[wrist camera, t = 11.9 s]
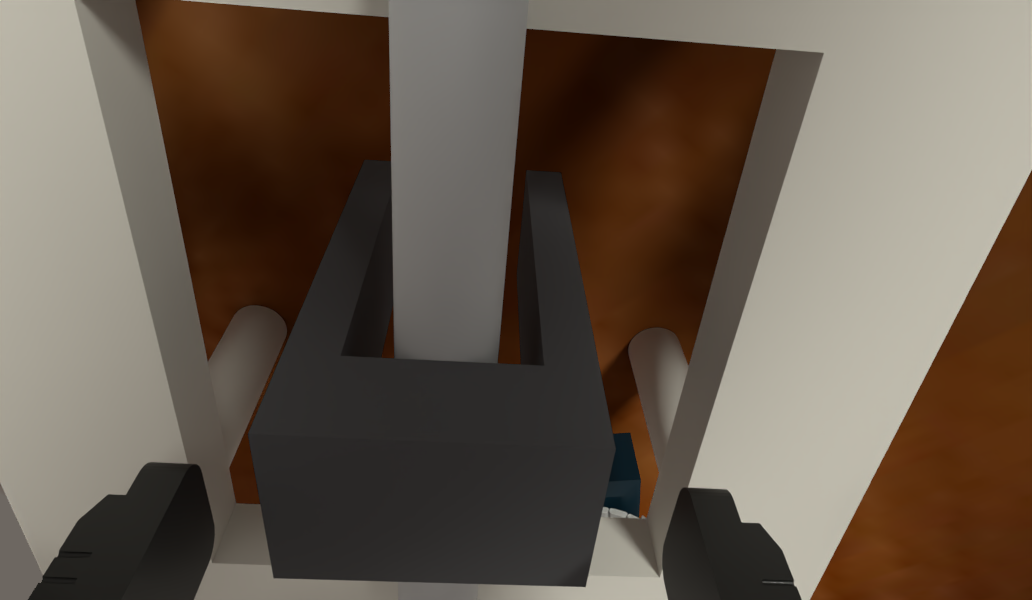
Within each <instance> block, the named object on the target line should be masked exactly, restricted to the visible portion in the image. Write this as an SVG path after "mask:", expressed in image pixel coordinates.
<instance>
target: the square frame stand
mask: <svg viewBox="0 0 1032 600" xmlns="http://www.w3.org/2000/svg"><path fill="white" fill-rule="evenodd" d="M185 1H197V2H209V3H222V4H234V5H246V6H258V7H270V8H283V9H295V10H307V11H319V12H331V13H343V14H356V15H368V16H380V17H389V56H390V118H391V181H392V243H393V305H394V358H395V359H416V360H437V361H458V362H478V363H498V353H499V341H500V330H501V318H502V306H503V295H504V283H505V271H506V260H507V248H508V237H509V225H510V213H511V202H512V190H513V179H514V167H515V155H516V144H517V132H518V120H519V109H520V97H521V86H522V74H523V62H524V51H525V39H526V29H539V30H551V31H563V32H575V33H587V34H600V35H612V36H624V37H636V38H648V39H661V40H673V41H685V42H697V43H709V44H722V45H734V46H746V47H758V48H770V49H776V52H775V56H774V60H773V63H772V67H771V70H770V74H769V78H768V81H767V85H766V89H765V92H764V96H763V99H762V103H761V107H760V110H759V114H758V117H757V121H756V125H755V128H754V132H753V136H752V139H751V143H750V146H749V150H748V154H747V157H746V161H745V165H744V168H743V172H742V175H741V179H740V183H739V186H738V190H737V193H736V197H735V201H734V204H733V208H732V212H731V215H730V219H729V222H728V226H727V230H726V233H725V237H724V241H723V244H722V248H721V251H720V255H719V259H718V262H717V266H716V270H715V273H714V277H713V280H712V284H711V288H710V291H709V295H708V298H707V302H706V306H705V309H704V313H703V317H702V320H701V324H700V327H699V331H698V335H697V338H696V342H695V346H694V349H693V353H692V356H691V360H690V364H689V367H688V364H687V361H686V359H685V356H684V353H683V350H682V348H681V345H680V342H679V340H678V338H677V336H676V335H675V334H674V333H673V332H672V331H670V330H668V329H665V328H649V329H646V330H643V331H641V332H640V333H638V334H637V335H636V336H635V337H634V338H633V339H632V340H631V342H630V344H629V347H628V354H629V358H630V362H631V366H632V370H633V374H634V378H635V381H636V385H637V389H638V393H639V397H640V401H641V405H642V408H643V412H644V416H645V420H646V424H647V428H648V432H649V436H650V439H651V443H652V447H653V451H654V455H655V459H656V463H657V466H658V470H659V476H658V479H657V483H656V487H655V490H654V494H653V498H652V501H651V505H650V508H649V512H648V516H647V519H639V518H612V517H601V519H600V524H599V528H598V533H597V538H596V542H595V547H594V551H593V556H592V561H591V565H590V570H589V574H588V579H587V584H586V587H563V586H528V585H492V584H456V583H421V582H385V581H350V580H314V579H279V578H273V573H272V567H271V561H270V556H269V550H268V544H267V539H266V533H265V528H264V522H263V516H262V511H261V505H260V504H239V503H236V500H235V495H234V490H233V485H232V480H231V475H230V470H229V467H230V465H231V463H232V460H233V458H234V456H235V453H236V451H237V449H238V446H239V444H240V442H241V439H242V437H243V435H244V433H245V430H246V428H247V426H248V423H249V421H250V419H251V416H252V414H253V412H254V409H255V407H256V405H257V403H258V400H259V398H260V396H261V393H262V391H263V389H264V386H265V384H266V382H267V380H268V377H269V375H270V373H271V370H272V368H273V366H274V363H275V361H276V359H277V356H278V354H279V352H280V350H281V347H282V345H283V343H284V340H285V338H286V335H287V327H286V324H285V322H284V320H283V319H282V317H281V316H280V315H279V314H278V313H276V312H275V311H273V310H272V309H269V308H267V307H264V306H258V305H251V306H246V307H243V308H241V309H240V310H238V311H237V312H236V314H235V315H234V317H233V318H232V320H231V322H230V324H229V326H228V327H227V329H226V331H225V333H224V334H223V336H222V338H221V340H220V341H219V343H218V345H217V347H216V349H215V350H214V352H213V354H212V356H211V357H210V359H209V361H207V356H206V351H205V346H204V341H203V336H202V331H201V326H200V321H199V316H198V311H197V306H196V301H195V296H194V291H193V286H192V281H191V276H190V271H189V266H188V261H187V256H186V251H185V246H184V241H183V236H182V231H181V226H180V221H179V216H178V211H177V206H176V201H175V196H174V191H173V186H172V181H171V176H170V171H169V166H168V161H167V156H166V151H165V146H164V141H163V136H162V131H161V126H160V121H159V116H158V111H157V107H156V102H155V97H154V92H153V87H152V82H151V77H150V72H149V67H148V62H147V57H146V52H145V47H144V42H143V37H142V32H141V27H140V22H139V17H138V12H137V7H136V2H135V0H0V484H1V486H2V488H3V490H4V492H5V494H6V497H7V499H8V501H9V503H10V505H11V507H12V510H13V512H14V514H15V516H16V518H17V520H18V523H19V525H20V527H21V529H22V531H23V533H24V536H25V538H26V540H27V542H28V544H29V546H30V549H31V551H32V553H33V555H34V557H35V559H36V561H37V564H38V566H39V568H40V570H41V572H42V575H44V573H45V572H46V570H47V569H48V567H49V566H50V564H51V562H52V561H53V559H54V558H55V557H58V554H59V550H60V548H61V546H62V545H63V543H64V542H65V540H66V538H67V537H68V535H69V534H70V532H71V531H72V529H73V527H74V526H75V524H76V523H77V521H78V520H79V519H80V518H81V517H82V516H84V515H85V514H86V513H87V512H88V511H89V510H90V509H92V508H93V507H94V506H95V505H96V504H97V503H99V502H100V501H101V500H102V499H103V498H104V497H106V496H107V495H108V494H114V495H126V494H127V492H128V490H129V489H130V487H131V485H132V483H133V482H134V480H135V478H136V477H137V475H138V473H139V472H140V470H141V469H142V467H143V466H144V465H145V464H147V463H149V462H161V463H184V464H197V465H199V466H200V468H201V471H202V474H203V478H204V483H205V487H206V491H207V495H208V499H209V503H210V507H211V512H212V516H213V520H214V525H215V538H214V546H213V551H212V555H211V558H210V561H209V564H208V567H207V569H206V572H205V574H204V576H203V579H202V581H201V584H200V586H199V589H198V591H197V593H196V596H195V598H194V600H668V598H667V593H666V588H665V584H664V578H663V569H662V553H663V545H664V541H665V538H666V534H667V531H668V528H669V525H670V521H671V518H672V515H673V511H674V508H675V505H676V502H677V498H678V495H679V492H680V490H681V489H682V488H684V487H688V488H711V489H727V490H728V491H729V492H730V493H731V495H732V497H733V499H734V502H735V505H736V508H737V511H738V514H739V516H740V519H741V522H743V523H760V524H761V525H762V527H763V528H764V529H765V530H766V531H767V533H768V534H769V535H770V536H771V537H772V538H773V540H774V541H775V542H776V543H777V544H778V546H779V547H780V548H781V549H782V551H783V553H784V556H785V558H786V561H787V564H788V566H789V569H790V571H791V574H792V576H793V579H794V586H796V587H797V589H798V591H799V594H800V597H801V599H802V600H810V598H811V596H812V594H813V593H814V591H815V589H816V587H817V585H818V583H819V581H820V579H821V577H822V575H823V573H824V571H825V569H826V567H827V565H828V563H829V562H830V560H831V558H832V556H833V554H834V552H835V550H836V548H837V546H838V544H839V542H840V540H841V538H842V536H843V534H844V532H845V531H846V529H847V527H848V525H849V523H850V521H851V519H852V517H853V515H854V513H855V511H856V509H857V507H858V505H859V503H860V501H861V500H862V498H863V496H864V494H865V492H866V490H867V488H868V486H869V484H870V482H871V480H872V478H873V476H874V474H875V472H876V470H877V469H878V467H879V465H880V463H881V461H882V459H883V457H884V455H885V453H886V451H887V449H888V447H889V445H890V443H891V441H892V439H893V438H894V436H895V434H896V432H897V430H898V428H899V426H900V424H901V422H902V420H903V418H904V416H905V414H906V412H907V410H908V408H909V407H910V405H911V403H912V401H913V399H914V397H915V395H916V393H917V391H918V389H919V387H920V385H921V383H922V381H923V379H924V377H925V376H926V374H927V372H928V370H929V368H930V366H931V364H932V362H933V360H934V358H935V356H936V354H937V352H938V350H939V348H940V346H941V345H942V343H943V341H944V339H945V337H946V335H947V333H948V331H949V329H950V327H951V325H952V323H953V321H954V319H955V317H956V315H957V314H958V312H959V310H960V308H961V306H962V304H963V302H964V300H965V298H966V296H967V294H968V292H969V290H970V288H971V286H972V284H973V283H974V281H975V279H976V277H977V275H978V273H979V271H980V269H981V267H982V265H983V263H984V261H985V259H986V257H987V255H988V253H989V252H990V250H991V248H992V246H993V244H994V242H995V240H996V238H997V236H998V234H999V232H1000V230H1001V228H1002V226H1003V224H1004V222H1005V221H1006V219H1007V217H1008V215H1009V213H1010V211H1011V209H1012V207H1013V205H1014V203H1015V201H1016V199H1017V197H1018V195H1019V193H1020V191H1021V190H1022V188H1023V186H1024V184H1025V182H1026V180H1027V178H1028V176H1029V174H1030V172H1031V170H1032V0H185Z"/></svg>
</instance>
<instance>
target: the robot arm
mask: <svg viewBox="0 0 1032 600" xmlns="http://www.w3.org/2000/svg"><path fill="white" fill-rule="evenodd" d="M214 538H215V525H214V520H213V516H212V512H211V507H210V503H209V499H208V495H207V491H206V487H205V483H204V478H203V474H202V471H201V468H200V466H199V465H197V464H184V463H161V462H149V463H147V464H145V465H144V466H143V467H142V469H141V470H140V472H139V473H138V475H137V477H136V478H135V480H134V482H133V483H132V485H131V487H130V489H129V490H128V492H127V494H126V495H114V494H108V495H107V496H106V497H104V498H103V499H102V500H101V501H100V502H99V503H97V504H96V505H95V506H94V507H93V508H92V509H90V510H89V511H88V512H87V513H86V514H85V515H84V516H82V517H81V518H80V519H79V520H78V521H77V523H76V524H75V526H74V527H73V529H72V531H71V532H70V534H69V535H68V537H67V538H66V540H65V542H64V543H63V545H62V546H61V548H60V550H59V554H58V557H55V558H54V559H53V561H52V562H51V564H50V566H49V567H48V569H47V570H46V572H45V573H44V575H43V580H42V582H41V583H38V585H37V587H36V588H35V590H34V591H33V593H32V594H31V596H30V597H29V599H28V600H194V598H195V596H196V593H197V591H198V589H199V586H200V584H201V581H202V579H203V576H204V574H205V572H206V569H207V567H208V564H209V561H210V558H211V555H212V551H213V546H214ZM662 569H663V578H664V584H665V588H666V593H667V598H668V600H802V599H801V597H800V594H799V591H798V589H797V587H796V586H794V579H793V576H792V574H791V571H790V569H789V566H788V564H787V561H786V558H785V556H784V553H783V551H782V549H781V548H780V547H779V546H778V544H777V543H776V542H775V541H774V540H773V538H772V537H771V536H770V535H769V534H768V533H767V531H766V530H765V529H764V528H763V527H762V525H761V524H760V523H743V522H741V519H740V516H739V514H738V511H737V508H736V505H735V502H734V499H733V497H732V495H731V493H730V492H729V491H728V490H727V489H711V488H688V487H684V488H682V489H681V490H680V492H679V495H678V498H677V502H676V505H675V508H674V511H673V515H672V518H671V521H670V525H669V528H668V531H667V534H666V538H665V541H664V545H663V553H662Z"/></svg>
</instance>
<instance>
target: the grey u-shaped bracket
mask: <svg viewBox="0 0 1032 600" xmlns="http://www.w3.org/2000/svg"><path fill="white" fill-rule="evenodd" d="M517 291H518V312H519V334H520V355H521V365H520V364H499V363H478V362H458V361H437V360H416V359H395V358H381V356H382V352H383V347H384V343H385V338H386V334H387V330H388V325H389V321H390V316H391V312H392V308H393V243H392V181H391V161H378V160H364V162H363V165H362V167H361V169H360V172H359V174H358V176H357V179H356V181H355V183H354V186H353V188H352V190H351V193H350V195H349V198H348V200H347V202H346V205H345V207H344V209H343V212H342V214H341V216H340V219H339V221H338V223H337V226H336V228H335V230H334V233H333V235H332V238H331V240H330V242H329V245H328V247H327V249H326V252H325V254H324V256H323V259H322V261H321V263H320V266H319V268H318V270H317V273H316V275H315V277H314V280H313V282H312V285H311V287H310V289H309V292H308V294H307V296H306V299H305V301H304V303H303V306H302V308H301V310H300V313H299V315H298V317H297V320H296V322H295V324H294V327H293V329H292V332H291V334H290V336H289V339H288V341H287V343H286V346H285V348H284V350H283V353H282V355H281V357H280V360H279V362H278V364H277V367H276V369H275V371H274V374H273V376H272V379H271V381H270V383H269V386H268V388H267V390H266V393H265V395H264V397H263V400H262V402H261V404H260V407H259V409H258V411H257V414H256V416H255V418H254V421H253V423H252V426H251V428H250V430H249V433H248V438H249V443H250V449H251V454H252V460H253V466H254V471H255V477H256V483H257V488H258V494H259V499H260V505H261V511H262V516H263V522H264V528H265V533H266V539H267V544H268V550H269V556H270V561H271V567H272V573H273V578H279V579H314V580H350V581H385V582H421V583H456V584H492V585H528V586H563V587H586V584H587V579H588V574H589V570H590V565H591V561H592V556H593V551H594V547H595V542H596V538H597V533H598V528H599V524H600V519H601V515H602V510H603V505H604V501H605V496H606V492H607V487H608V482H609V478H610V473H611V469H612V464H613V459H614V455H615V450H616V448H615V443H614V438H613V433H612V428H611V423H610V418H609V413H608V407H607V402H606V397H605V392H604V387H603V382H602V377H601V372H600V367H599V362H598V357H597V352H596V347H595V342H594V337H593V332H592V327H591V322H590V317H589V312H588V306H587V301H586V296H585V291H584V286H583V281H582V276H581V271H580V266H579V261H578V256H577V251H576V246H575V241H574V236H573V231H572V226H571V221H570V216H569V211H568V205H567V200H566V195H565V190H564V185H563V180H562V175H561V172H546V171H531V170H526V180H525V191H524V202H523V212H522V223H521V234H520V245H519V256H518V266H517Z"/></svg>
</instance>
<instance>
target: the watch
mask: <svg viewBox="0 0 1032 600" xmlns="http://www.w3.org/2000/svg"><path fill="white" fill-rule="evenodd" d="M613 438H614V443H615V448H616V450H615V455H614V459H613V464H612V469H611V473H610V478H609V482H608V487H607V492H606V496H605V501H604V505H603V510H602V515H601V517H612V518H639V505H640V483H641V479H640V474H639V470H638V466H637V461H636V457H635V452H634V448H633V444H632V439H631V435H630V433H619V434H613ZM639 519H640V518H639ZM641 519H647V518H645V517H644V516H642V517H641Z"/></svg>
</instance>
